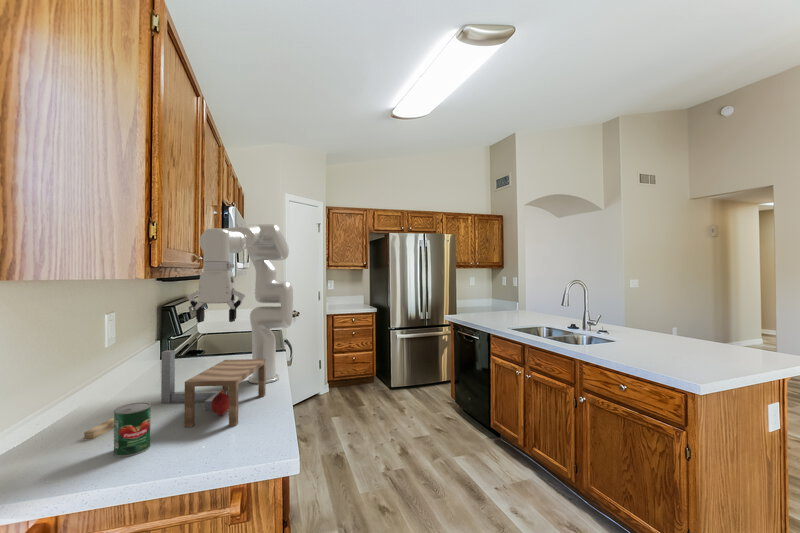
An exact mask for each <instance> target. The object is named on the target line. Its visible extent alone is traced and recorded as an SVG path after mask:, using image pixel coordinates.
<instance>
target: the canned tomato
mask: <svg viewBox="0 0 800 533" xmlns="http://www.w3.org/2000/svg"><path fill="white" fill-rule="evenodd" d="M151 406H152V403H150V402H146V401H145V402H141V401H140V402H133V403H129V404H123V405H121V406H119V407H116V408H115V409H114V410H113V417H114V428H113V456H115V457H117V458H123V457H124V458H125V457H126V458H127V457H131V456H135V455H139V454H142V453H145V452H146V451H148V450H150V448H151V442H152V440H151V439H152V438H151V434H152V432H151V429H152V428H151V423H152V422H151V420H152V419H151V418H152V417H151V415H152V414H151V411H152V407H151Z"/></svg>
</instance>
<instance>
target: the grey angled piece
mask: <svg viewBox="0 0 800 533" xmlns="http://www.w3.org/2000/svg"><path fill="white" fill-rule="evenodd" d="M175 352H176V351H175V350H173V349H172V350H170V349H169V350H167V349H166V350H164V351H162V352H161V369H160V370H161V376H160V378H161V380H160V381H161V384H160V385H161V390H160V391H161V394H160V397H161V399H160V400H161V402H160V403H161V404H170V403H185V391H176V389H175V388H176V386H175V385H176V384H175V381H176V379H175V377H176V375H175V374H176V373H175V372H176V371H175V370H176V367H175V366H176V364H175V363H176V360H175V359H176V353H175ZM220 391H221V390H220ZM220 391H219V390H213V391H212V390H211V391H206V390H205V391H195V403H202V402H203V403H204V411H213V410H212V407H211V403H212V400H213V399H214V397H215V396H216V395H218V394H219V392H220ZM224 393H225V394H227V391H224Z"/></svg>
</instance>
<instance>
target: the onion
mask: <svg viewBox="0 0 800 533" xmlns="http://www.w3.org/2000/svg"><path fill="white" fill-rule="evenodd" d="M211 407H212V410H211V411H213V413H215V414H217V415H218V416H224V415H225V414H226V413H227V412H229V396H228V395H227V394H225V393H224V391H223V389H222V390H220V392H219V394H218V395H216V396H215V397H214V399H213V400H212V403H211Z"/></svg>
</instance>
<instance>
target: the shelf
mask: <svg viewBox="0 0 800 533" xmlns="http://www.w3.org/2000/svg"><path fill="white" fill-rule="evenodd" d="M257 369H258V385H257V386H258V389H257V391H258V392H257V393H258V394H257V396H258V397H260V398H264V397H265V396H266V384H267V383H266V359H251V358H250V359H248V358H247V359H245V358H244V359H224V360H221V361H220V362H218V363H216V364H215V365H213V366H211V367H209V368H207V369H206V370H204V371H202V372H200V373H198V374H196V375H194V376H192V377H191V378H189V379H187V380H185V381H184V392H185V402H184V415H183V417H184V419H183V420H184V421H183V422H184V426H183V427H184V428H192V427H193V426H195V424H196V423H195V418H196V416H195V415H196V411H195V409H196V405H195V404H196V402H195V392H196V390H195V389H196V388H197V387H222V390H223V391H227V395H228V396H229V410H228V427H237V426H238V424H239V384H240V383H242V382H243V381H244V380H245V379H248V378H249V377H250V376H252V373H253V372H254V371H256V370H257ZM195 387H196V388H195Z"/></svg>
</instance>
